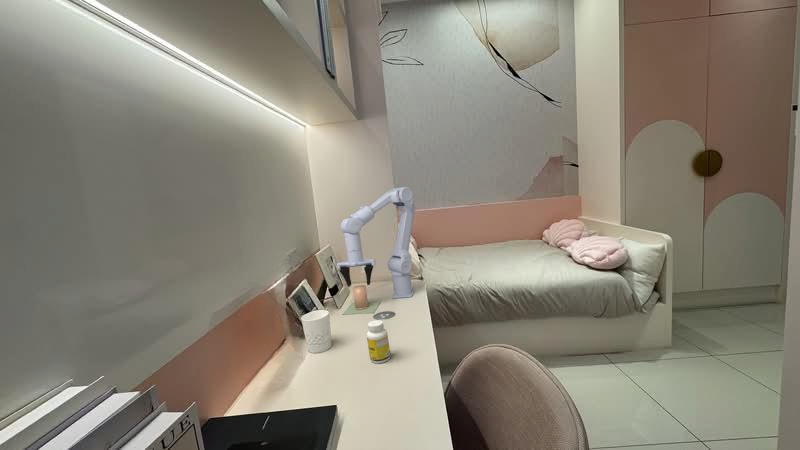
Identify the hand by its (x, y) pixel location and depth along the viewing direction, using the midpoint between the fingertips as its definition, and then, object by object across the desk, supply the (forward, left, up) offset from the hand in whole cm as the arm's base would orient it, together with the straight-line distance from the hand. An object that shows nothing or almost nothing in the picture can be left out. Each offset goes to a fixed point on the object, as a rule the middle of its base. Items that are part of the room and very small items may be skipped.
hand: (359, 285), depth 132 cm
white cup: (+32, -4, -9) cm, 34 cm away
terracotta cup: (0, 0, -9) cm, 9 cm away
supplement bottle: (+40, +16, -9) cm, 44 cm away
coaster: (+9, +10, -9) cm, 17 cm away
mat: (0, 0, -9) cm, 9 cm away
